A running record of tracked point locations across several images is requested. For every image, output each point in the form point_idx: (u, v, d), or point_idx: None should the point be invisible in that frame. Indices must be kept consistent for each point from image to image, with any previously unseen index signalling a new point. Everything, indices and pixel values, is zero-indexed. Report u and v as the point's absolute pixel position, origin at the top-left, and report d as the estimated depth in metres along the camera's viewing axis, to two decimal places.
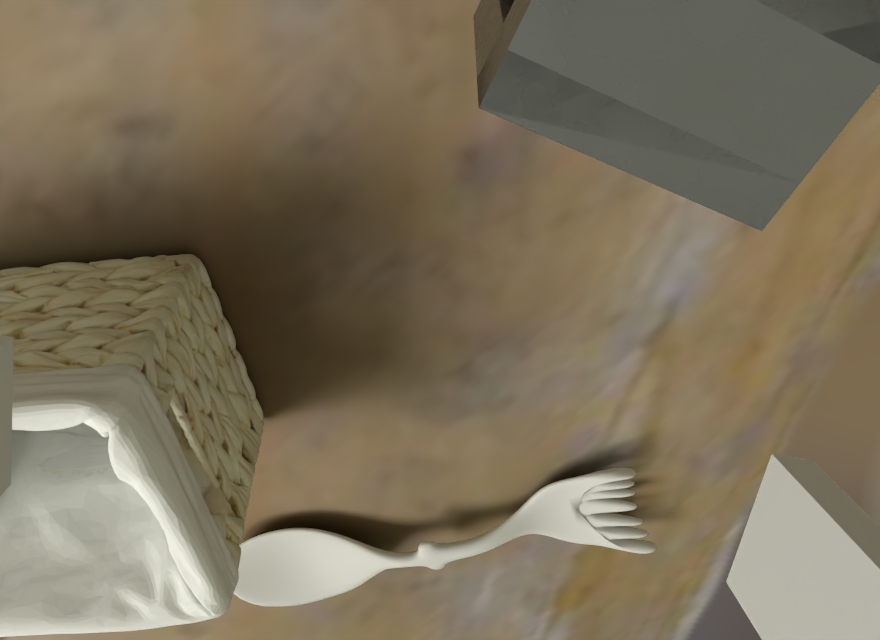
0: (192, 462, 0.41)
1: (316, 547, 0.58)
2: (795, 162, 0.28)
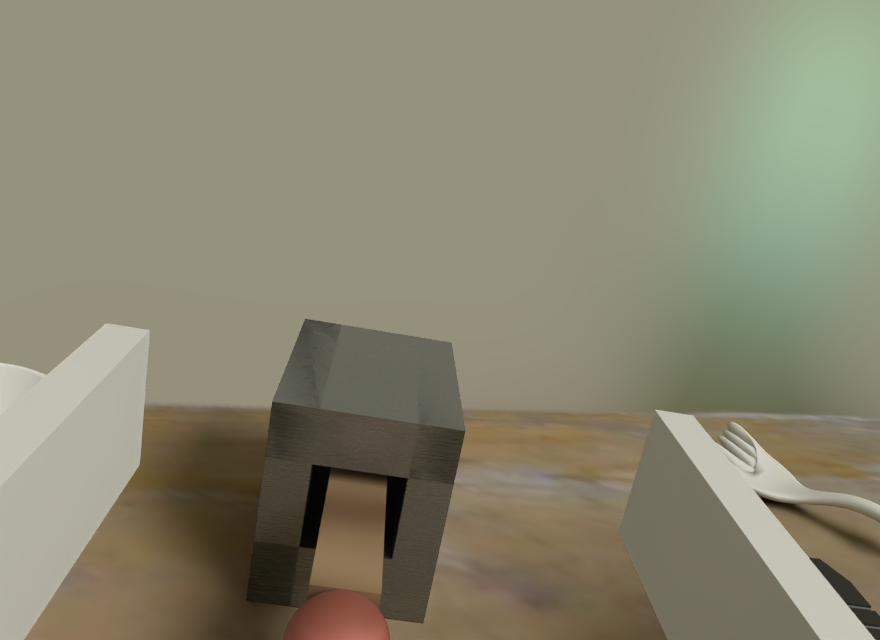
0: None
1: None
2: (406, 339, 0.47)
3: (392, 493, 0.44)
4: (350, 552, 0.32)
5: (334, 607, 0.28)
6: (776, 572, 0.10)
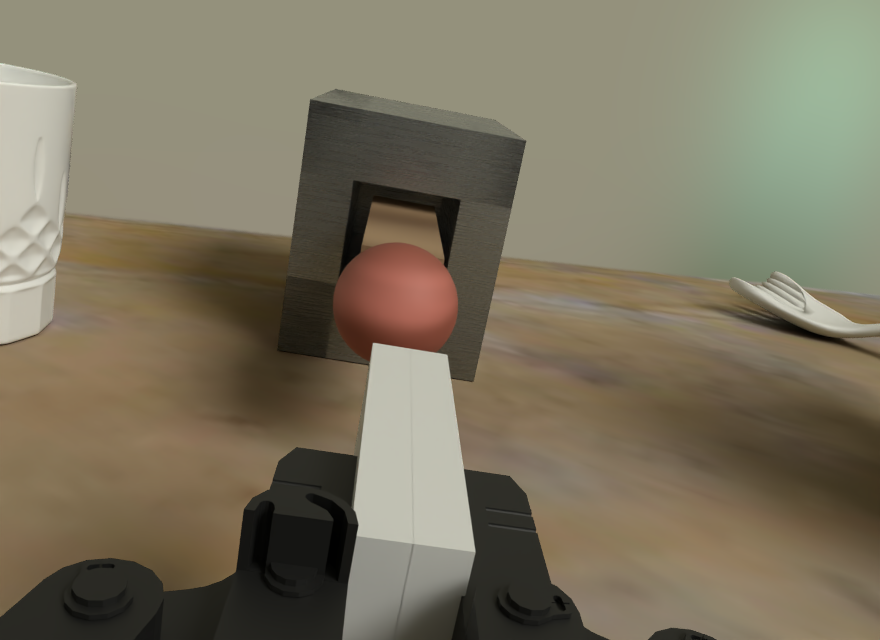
0: None
1: None
2: (446, 111, 0.43)
3: None
4: (404, 236, 0.28)
5: (395, 247, 0.24)
6: (418, 474, 0.11)
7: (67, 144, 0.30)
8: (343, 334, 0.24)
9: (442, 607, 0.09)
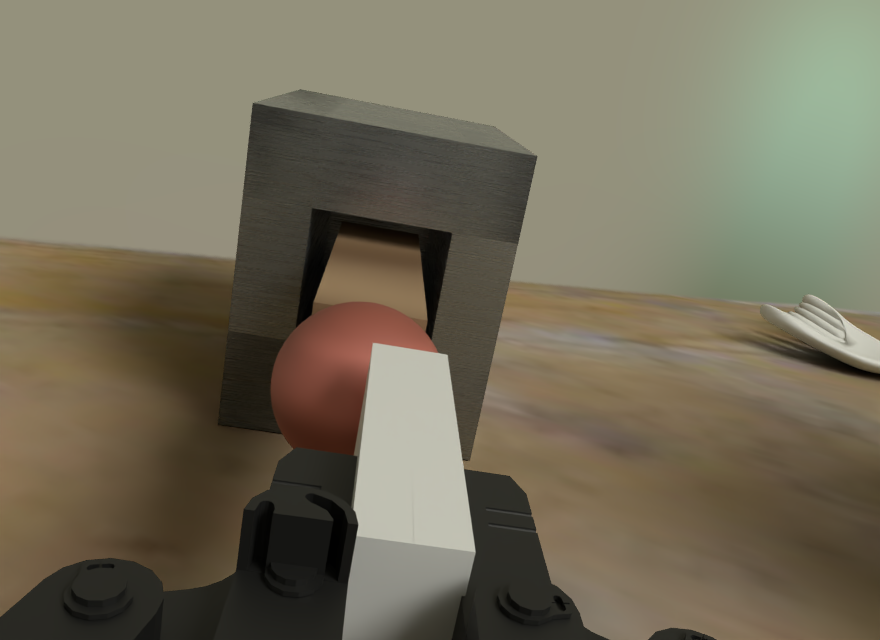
0: None
1: None
2: (435, 115, 0.35)
3: None
4: (375, 284, 0.21)
5: (357, 310, 0.17)
6: (418, 474, 0.11)
7: None
8: (284, 433, 0.17)
9: (442, 607, 0.09)
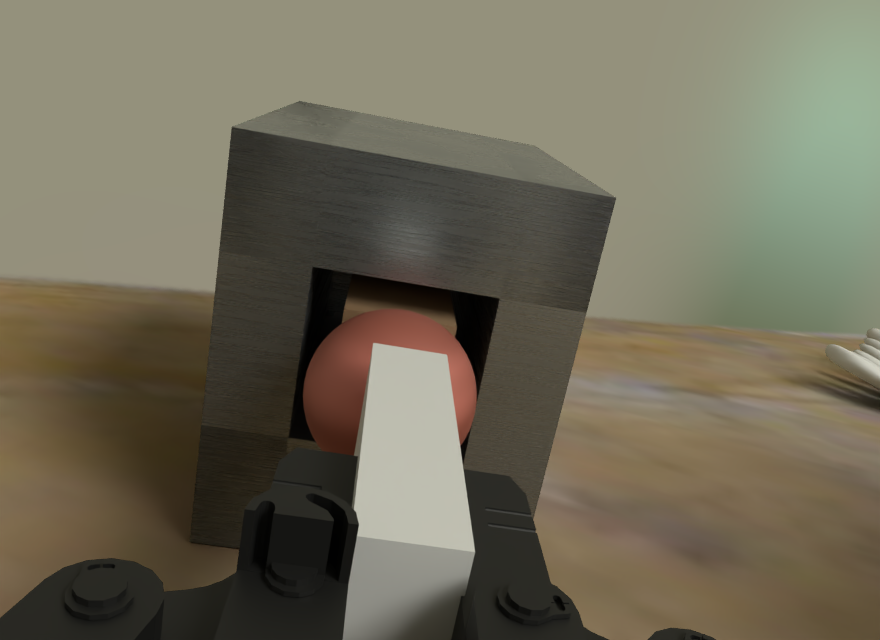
0: None
1: None
2: (463, 133, 0.29)
3: None
4: (402, 290, 0.21)
5: (390, 318, 0.17)
6: (417, 474, 0.11)
7: None
8: (317, 440, 0.17)
9: (442, 607, 0.09)
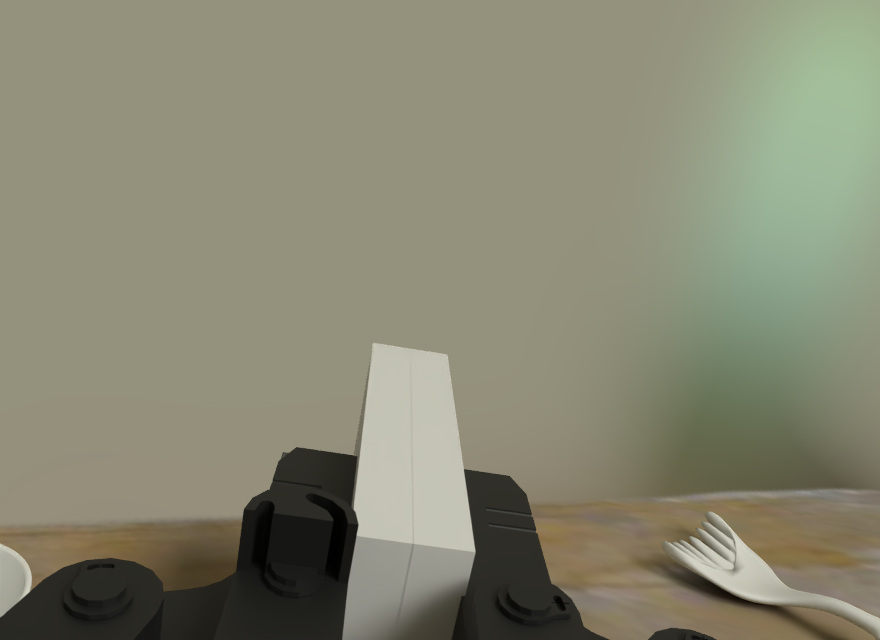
0: None
1: None
2: None
3: None
4: None
5: None
6: (418, 474, 0.11)
7: None
8: None
9: (442, 607, 0.09)
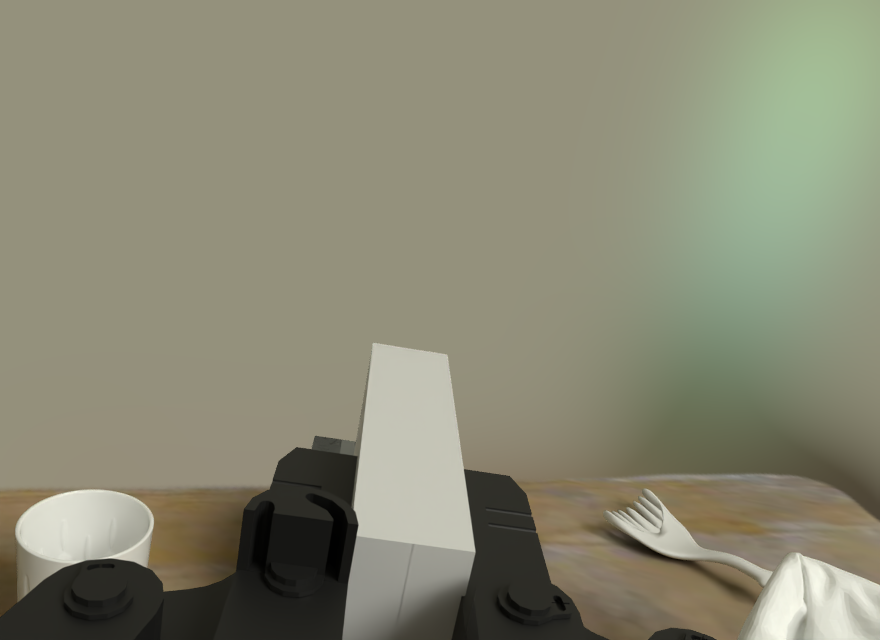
0: None
1: None
2: None
3: None
4: None
5: None
6: (418, 474, 0.11)
7: (148, 557, 0.50)
8: None
9: (442, 607, 0.09)
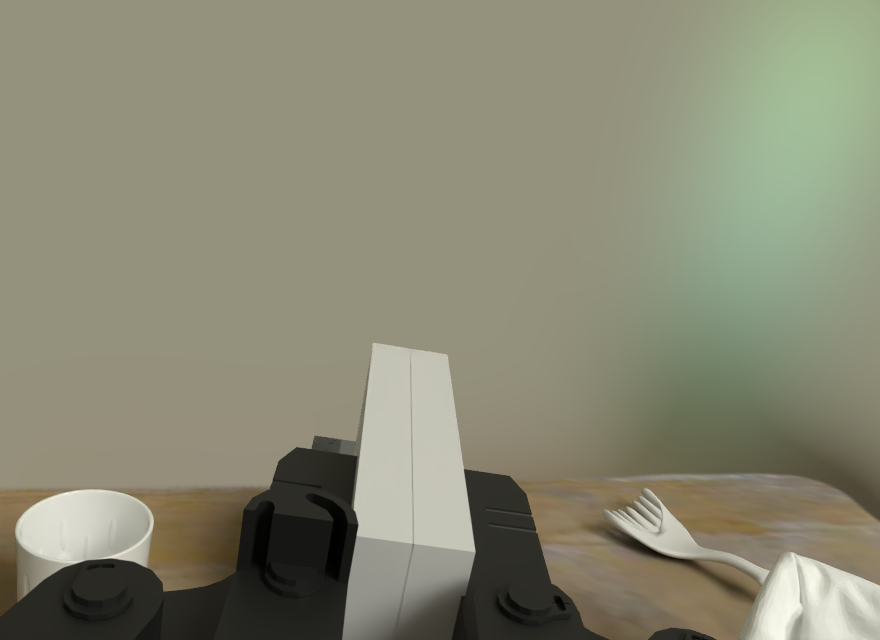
0: None
1: None
2: None
3: None
4: None
5: None
6: (418, 474, 0.11)
7: (148, 557, 0.50)
8: None
9: (442, 607, 0.09)
